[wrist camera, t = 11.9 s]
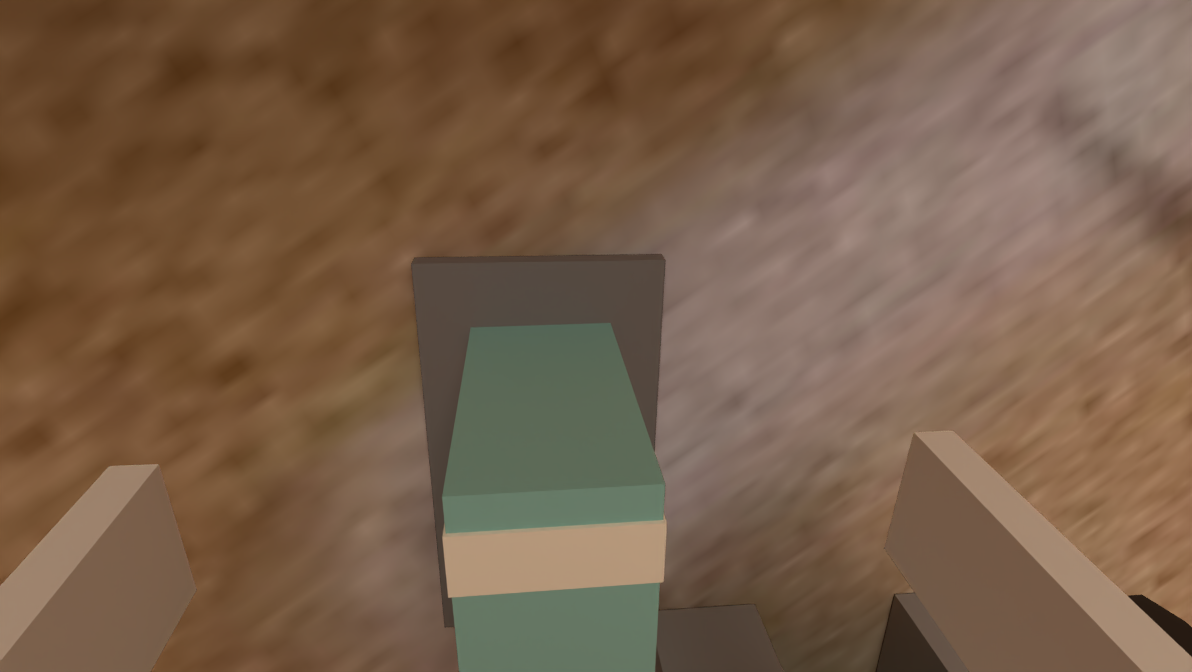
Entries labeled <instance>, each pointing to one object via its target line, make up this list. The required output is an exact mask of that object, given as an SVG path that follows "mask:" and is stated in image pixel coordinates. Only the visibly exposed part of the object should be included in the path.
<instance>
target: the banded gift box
mask: <svg viewBox="0 0 1192 672" xmlns="http://www.w3.org/2000/svg"><path fill="white" fill-rule="evenodd" d="M664 497H665V482H664V479H663V476H662V473H661V470H660V467H659V464H658V461H657V458H656V456H655V453H654V450H653V447H652V444H651V441H650V438H649V435H648V432H647V429H646V426H645V423H644V420H643V417H642V414H641V411H640V408H639V405H638V402H637V400H636V397H635V394H634V391H633V388H632V385H631V382H630V379H629V376H628V373H627V370H626V367H625V364H624V361H623V358H622V355H621V352H620V349H619V346H618V343H617V341H616V338H615V335H614V332H613V329H612V326H611V323H592V324H561V325H531V326H501V327H471V329H470V335H469V341H468V347H467V352H466V358H465V364H464V370H463V376H462V382H461V388H460V394H459V400H458V406H457V412H456V417H455V423H454V429H453V435H452V441H451V447H450V453H449V459H448V465H447V471H446V476H445V482H444V488H443V494H442V501H443V512H444V522H445V523H444V529H443V536H442V540H443V550H444V560H445V570H446V580H447V590H448V598H451V597H452V604H453V614H454V625H455V635H456V645H457V656H458V666H459V672H655V663H656V644H657V626H658V607H659V589H660V582H664V566H665V548H666V531H667V522H666V519H665V515H664Z"/></svg>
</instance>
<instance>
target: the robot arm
mask: <svg viewBox="0 0 1192 672" xmlns="http://www.w3.org/2000/svg"><path fill="white" fill-rule="evenodd" d="M884 549H885V550H886V552H887V553H888V554H889V556H890V557H891V559H892V560H893V562H894V563H895V565H896V566H897V568H898V569H899V570H900V572H901V573H902V575H903V576H904V578H905V579H906V581H907V582H908V583H909V585H910V586H911V588H912V589H913V591H914V592H915V594H916V595H917V596H918V598H919V599H920V601H921V602H922V604H923V605H924V607H925V608H926V609H927V611H928V612H929V614H930V615H931V617H932V618H933V620H934V621H935V623H936V624H937V625H938V627H939V628H940V630H941V631H942V633H943V634H944V636H945V637H946V638H947V640H948V641H949V643H950V644H951V646H952V647H953V649H954V650H955V651H956V653H957V654H958V656H959V657H960V659H961V660H962V662H963V663H964V665H965V666H966V667H967V669H968V670H969V672H1192V627H1191V626H1190V625H1189V624H1187V623H1186V622H1185V621H1183V620H1182V619H1180V618H1179V617H1177V616H1175V615H1174V614H1172V613H1171V612H1169V611H1167V610H1166V609H1164V608H1162V607H1161V606H1159V605H1158V604H1156V603H1154V602H1153V601H1151V600H1150V599H1148V598H1146V597H1145V596H1143V595H1131V596H1127V595H1126V594H1125V593H1124V592H1123V591H1122V590H1121V589H1119V588H1118V587H1117V586H1116V585H1115V584H1114V583H1113V582H1112V581H1111V580H1110V579H1109V578H1108V577H1107V576H1106V575H1105V574H1104V573H1103V572H1102V571H1100V570H1099V569H1098V568H1097V567H1096V566H1095V565H1094V564H1093V563H1092V562H1091V561H1090V560H1089V559H1088V558H1087V557H1086V556H1085V555H1084V554H1083V553H1082V552H1080V551H1079V550H1078V549H1077V548H1076V547H1075V546H1074V545H1073V544H1072V543H1071V542H1070V541H1069V540H1068V539H1067V538H1066V537H1065V536H1064V535H1063V534H1061V533H1060V532H1059V531H1058V530H1057V529H1056V528H1055V527H1054V526H1053V525H1052V524H1051V523H1050V522H1049V521H1048V520H1047V519H1046V518H1045V517H1044V516H1043V515H1041V514H1040V513H1039V512H1038V511H1037V510H1036V509H1035V508H1034V507H1033V506H1032V505H1031V504H1030V503H1029V502H1028V501H1027V500H1026V499H1025V498H1024V497H1022V496H1021V495H1020V494H1019V493H1018V492H1017V491H1016V490H1015V489H1014V488H1013V487H1012V486H1011V485H1010V484H1009V483H1008V482H1007V481H1006V480H1005V479H1004V478H1002V477H1001V476H1000V475H999V474H998V473H997V472H996V471H995V470H994V469H993V468H992V467H991V466H990V465H989V464H988V463H987V462H986V461H985V460H983V459H982V458H981V457H980V456H979V455H978V454H977V453H976V452H975V451H974V450H973V449H972V448H971V447H970V446H969V445H968V444H967V443H966V442H964V441H963V440H962V439H961V438H960V437H959V436H958V435H957V434H956V433H955V432H954V431H931V432H914V434H913V437H912V441H911V445H910V449H909V453H908V457H907V461H906V465H905V469H904V473H903V477H902V481H901V485H900V489H899V492H898V496H897V500H896V504H895V508H894V512H893V516H892V520H891V524H890V528H889V532H888V536H887V540H886V543H885V547H884ZM196 590H197V589H196V586H195V582H194V579H193V576H192V572H191V569H190V566H189V562H188V559H187V556H186V552H185V549H184V546H183V543H182V539H181V536H180V533H179V529H178V526H177V523H176V519H175V516H174V513H173V509H172V506H171V503H170V499H169V496H168V493H167V489H166V486H165V483H164V479H163V476H162V473H161V470H160V466H159V464H148V465H124V466H109V467H108V468H107V469H106V470H105V471H104V472H103V473H102V475H101V476H100V477H99V478H98V479H97V480H96V481H95V482H94V483H93V484H92V486H91V487H90V488H89V489H88V490H87V491H86V492H85V493H84V494H83V495H82V496H81V498H80V499H79V500H78V501H77V502H76V503H75V504H74V505H73V506H72V507H71V509H70V510H69V511H68V512H67V513H66V514H65V515H64V516H63V517H62V518H61V520H60V521H59V522H58V523H57V524H56V525H55V526H54V527H53V528H52V529H51V531H50V532H49V533H48V534H47V535H46V536H45V537H44V538H43V539H42V540H41V541H40V543H39V544H38V545H37V546H36V547H35V548H34V549H33V550H32V551H31V552H30V554H29V555H28V556H27V557H26V558H25V559H24V560H23V561H22V562H21V563H20V565H19V566H18V567H17V568H16V569H15V570H14V571H13V572H12V573H11V574H10V576H9V577H8V578H7V579H6V580H5V581H4V582H3V583H2V584H1V585H0V672H151V670H152V669H153V667H154V665H155V663H156V661H157V660H158V658H159V656H160V654H161V653H162V651H163V649H164V647H165V645H166V644H167V642H168V640H169V638H170V636H171V635H172V633H173V631H174V629H175V628H176V626H177V624H178V622H179V620H180V619H181V617H182V615H183V613H184V612H185V610H186V608H187V606H188V604H189V603H190V601H191V599H192V597H193V596H194V594H195V592H196Z"/></svg>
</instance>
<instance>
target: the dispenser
mask: <svg viewBox="0 0 1192 672" xmlns="http://www.w3.org/2000/svg"><path fill="white" fill-rule="evenodd" d="M655 672H783V669H782V667H781V665H780V662H779V660H778V658H777V655H776V653H775V651H774V648H773V646H772V644H771V641H770V639H769V637H768V634H767V632H766V630H765V627H764V625H763V623H762V620H761V618H760V615H759V613H758V611H757V608H756V606H755V604H747V605H732V606H718V607H703V608H688V609H674V610H659V611H658V626H657V644H656V663H655ZM876 672H969V670H968V669H967V667H966V666H965V665H964V663H963V662H962V660H961V659H960V657H959V656H958V654H957V653H956V651H955V650H954V649H953V647H952V646H951V644H950V643H949V641H948V640H947V638H946V637H945V636H944V634H943V633H942V631H941V630H940V628H939V627H938V625H937V624H936V623H935V621H934V620H933V618H932V617H931V615H930V614H929V612H928V611H927V609H926V608H925V607H924V605H923V604H922V602H921V601H920V599H919V598H918V596H917V595H916V594H915V593H907V594H895V596H894V600H893V604H892V608H891V613H890V617H889V621H888V625H887V629H886V634H885V638H884V642H883V646H882V650H881V655H880V659H879V663H878V667H877V671H876Z"/></svg>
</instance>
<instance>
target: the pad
mask: <svg viewBox="0 0 1192 672" xmlns="http://www.w3.org/2000/svg"><path fill="white" fill-rule="evenodd" d="M411 266H412V277H413V288H414V299H415V310H416V321H417V332H418V343H419V353H420V364H421V375H422V386H423V397H424V408H425V419H426V430H427V441H428V451H429V462H430V473H431V484H432V495H433V506H434V517H435V528H436V539H437V549H438V560H439V571H440V582H441V593H442V604H443V615H444V626H445V627H455V625H454V614H453V604H452V597H451V598H448V590H447V580H446V570H445V560H444V550H443V540H442V536H443V529H444V523H445V522H444V512H443V501H442V494H443V488H444V482H445V476H446V471H447V465H448V459H449V453H450V447H451V441H452V435H453V429H454V423H455V417H456V412H457V406H458V400H459V394H460V388H461V382H462V376H463V370H464V364H465V358H466V352H467V347H468V341H469V335H470V329H471V327H501V326H531V325H561V324H592V323H611V326H612V329H613V332H614V335H615V338H616V341H617V343H618V346H619V349H620V352H621V355H622V358H623V361H624V364H625V367H626V370H627V373H628V376H629V379H630V382H631V385H632V388H633V391H634V394H635V397H636V400H637V402H638V405H639V408H640V411H641V414H642V417H643V420H644V423H645V426H646V429H647V432H648V435H649V438H650V441H651V444H652V447H653V450H654V452H655V434H656V417H657V399H658V381H659V364H660V346H661V329H662V311H663V294H664V276H665V259H664V257H663V256H662V254H639V255H566V256H494V257H421V258H414V259H413V261H412V263H411Z"/></svg>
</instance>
